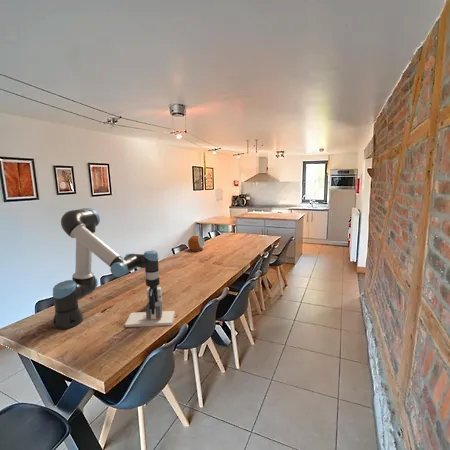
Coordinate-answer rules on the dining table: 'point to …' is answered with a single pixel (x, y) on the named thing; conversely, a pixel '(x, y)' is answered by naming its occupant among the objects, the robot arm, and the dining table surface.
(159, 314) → the block
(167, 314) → the board
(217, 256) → the dining table surface
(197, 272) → the dining table surface
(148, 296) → the ink box
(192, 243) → the alarm clock
